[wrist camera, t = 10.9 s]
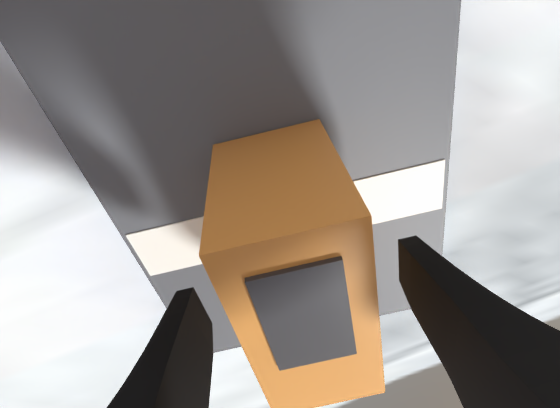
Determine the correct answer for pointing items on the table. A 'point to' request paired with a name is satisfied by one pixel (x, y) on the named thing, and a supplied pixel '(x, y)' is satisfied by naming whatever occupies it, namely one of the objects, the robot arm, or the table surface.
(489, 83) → the table surface
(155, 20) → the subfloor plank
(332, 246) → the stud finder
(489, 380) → the robot arm
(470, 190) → the table surface
